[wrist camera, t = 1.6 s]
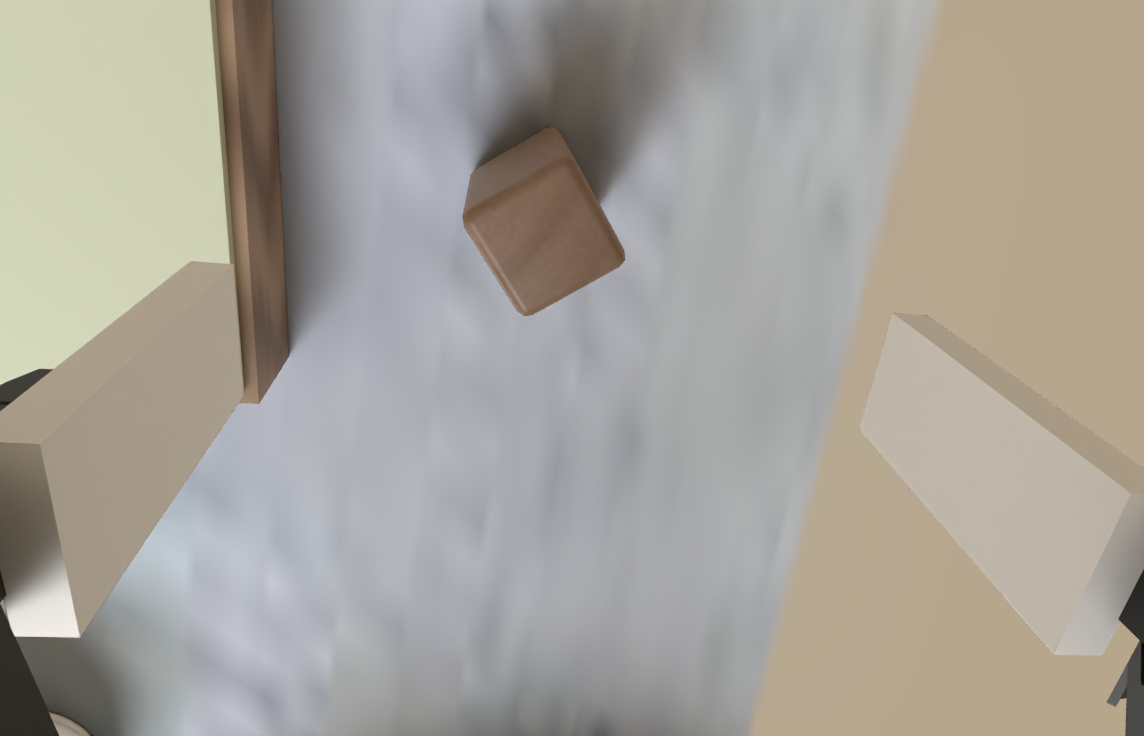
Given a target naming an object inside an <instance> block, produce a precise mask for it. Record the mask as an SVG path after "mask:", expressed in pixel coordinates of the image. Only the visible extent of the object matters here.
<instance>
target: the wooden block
mask: <svg viewBox="0 0 1144 736" xmlns="http://www.w3.org/2000/svg"><path fill="white" fill-rule="evenodd" d="M463 223H464V227H465V229H466V231H467V232H468V234H469V235H470V237H471V239H472V240H473V242H474V243H475V245H476V247H477V248H478V250H479V251H480V253H481V254H482V256H483V258H484V259H485V261H486V262H487V264H488V266H489V267H490V269H491V270H492V272H493V274H494V275H495V277H496V278H497V280H498V282H499V283H500V285H501V286H502V288H503V290H504V291H505V293H506V294H507V296H508V298H509V299H510V301H511V302H512V304H513V305H514V307H515V309H516V310H517V311H518V312H519V313H521V314H522V315H524V316H528V315H533V314H535V313H537V312H539V311H541V310H542V309H544V308H546V307H548V306H550V305H551V304H553V303H555V302H557V301H559V300H560V299H562V298H564V297H566V296H568V295H569V294H571V293H573V292H575V291H577V290H579V289H580V288H582V287H584V286H586V285H588V284H589V283H591V282H593V281H595V280H597V279H598V278H600V277H602V276H604V275H606V274H607V273H609V272H611V271H613V270H615V269H616V268H618V267H619V266H620V265H621V264H622V263H623V262H624V261H625V253H624V249H623V247H622V245H621V243H620V242H619V240H618V238H617V236H616V234H615V232H614V230H613V229H612V227H611V225H610V223H609V221H608V219H607V217H606V216H605V214H604V212H603V210H602V208H601V206H600V204H599V203H598V201H597V199H596V197H595V195H594V193H593V191H592V190H591V188H590V186H589V184H588V182H587V180H586V178H585V177H584V175H583V173H582V171H581V169H580V167H579V165H578V164H577V162H576V160H575V158H574V156H573V154H572V153H571V151H570V149H569V147H568V146H567V144H566V142H565V140H564V138H563V137H562V135H561V133H560V131H558V130H557V129H556V128H555V127H547V128H544V129H543V130H541V131H539V132H537V133H536V134H534V135H532V136H531V137H529V138H527V139H526V140H524V141H522V142H520V143H519V144H517V145H515V146H514V147H512V148H510V149H509V150H507V151H505V152H504V153H502V154H500V155H498V156H497V157H495V158H493V159H492V160H490V161H488V162H487V163H485V164H483V165H481V166H480V167H478V168H476V169H475V170H474V172H473V173H472V174H471V176H470V181H469V187H468V192H467V197H466V202H465V207H464V212H463Z"/></svg>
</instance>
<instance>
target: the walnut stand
mask: <svg viewBox="0 0 1144 736" xmlns="http://www.w3.org/2000/svg"><path fill="white" fill-rule="evenodd" d="M190 261H196V262H210V263H223V264H234V277H235V290H236V302H237V315H238V328H239V341H240V353H241V366H242V379H243V392H244V396H243V398H242V399H241V401H240V402H239V403H254V404H259V403H260V401H261V400H262V398H263V397H264V395H265V393H266V392H267V390H268V389H269V387H270V386H271V384H272V382H273V381H274V379H275V378H276V376H277V375H278V373H279V371H280V370H281V368H282V367H283V365H284V363H285V362H286V360H287V359H288V357H289V350H288V329H287V308H286V287H285V266H284V245H283V224H282V203H281V183H280V162H279V141H278V120H277V99H276V78H275V57H274V36H273V15H272V0H0V386H1V385H2V384H3V383H5V382H7V381H10V380H12V379H15V378H17V377H20V376H22V375H25V374H27V373H30V372H32V371H35V370H37V369H55V368H56V367H57V366H58V365H60V364H61V363H62V362H63V361H65V360H66V359H67V358H68V357H70V356H71V355H72V354H74V353H75V352H76V351H77V350H79V349H80V348H81V347H82V346H84V345H85V344H86V343H87V342H89V341H90V340H91V339H93V338H94V337H95V336H96V335H98V334H99V333H100V332H101V331H103V330H104V329H105V328H106V327H108V326H109V325H110V324H112V323H113V322H114V321H115V320H117V319H118V318H119V317H120V316H122V315H123V314H124V313H125V312H127V311H128V310H129V309H131V308H132V307H133V306H134V305H136V304H137V303H138V302H139V301H141V300H142V299H143V298H144V297H146V296H147V295H148V294H149V293H151V292H152V291H153V290H155V289H156V288H157V287H158V286H160V285H161V284H162V283H163V282H165V281H166V280H167V279H168V278H170V277H171V276H172V275H174V274H175V273H176V272H177V271H179V270H180V269H181V268H182V267H184V266H185V265H186V264H187V263H189V262H190Z"/></svg>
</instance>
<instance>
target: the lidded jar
mask: <svg viewBox="0 0 1144 736" xmlns="http://www.w3.org/2000/svg"><path fill="white" fill-rule="evenodd" d="M49 714H50V716H51V718H52V720H53V723H54V725H55V727H56V729H57V732H58V734H59V736H91V735H90V734H89V733H88V732H87V731H86V730H85V729H84V728H83V727H81V726H80V725H79V724H77V723H76V722H74V721H72V720H70V719H68V718H66V717H64V716H61V715H58V714H56V713H52V712H49Z"/></svg>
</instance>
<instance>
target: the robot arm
mask: <svg viewBox="0 0 1144 736" xmlns="http://www.w3.org/2000/svg"><path fill="white" fill-rule="evenodd" d="M243 396H244V392H243V379H242V366H241V353H240V341H239V328H238V315H237V302H236V290H235V277H234V264H223V263H210V262H196V261H190V262H189V263H187V264H186V265H185V266H184V267H182V268H181V269H180V270H179V271H177V272H176V273H175V274H174V275H172V276H171V277H170V278H168V279H167V280H166V281H165V282H163V283H162V284H161V285H160V286H158V287H157V288H156V289H155V290H153V291H152V292H151V293H149V294H148V295H147V296H146V297H144V298H143V299H142V300H141V301H139V302H138V303H137V304H136V305H134V306H133V307H132V308H131V309H129V310H128V311H127V312H125V313H124V314H123V315H122V316H120V317H119V318H118V319H117V320H115V321H114V322H113V323H112V324H110V325H109V326H108V327H106V328H105V329H104V330H103V331H101V332H100V333H99V334H98V335H96V336H95V337H94V338H93V339H91V340H90V341H89V342H87V343H86V344H85V345H84V346H82V347H81V348H80V349H79V350H77V351H76V352H75V353H74V354H72V355H71V356H70V357H68V358H67V359H66V360H65V361H63V362H62V363H61V364H60V365H58V366H57V367H56V368H55V369H37V370H35V371H32V372H30V373H27V374H25V375H22V376H20V377H17V378H15V379H12V380H10V381H7V382H5V383H3V384H2V385H1V386H0V602H1V601H2V600H3V599H4V603H5V607H6V611H7V615H8V619H9V623H10V625H9V623H8V620H7V618H6V616H5V614H4V612H3V609H2V607H1V605H0V736H59V734H58V732H57V729H56V727H55V725H54V723H53V720H52V718H51V716H50V714H49V712H48V709H47V707H46V705H45V703H44V700H43V698H42V696H41V694H40V692H39V689H38V687H37V685H36V683H35V680H34V678H33V676H32V674H31V672H30V669H29V667H28V665H27V663H26V660H25V658H24V656H23V654H22V652H21V649H20V647H19V645H18V643H17V640H16V638H15V636H21V637H78V638H80V637H81V635H82V634H83V632H84V631H85V629H86V628H87V626H88V625H89V623H90V622H91V620H92V619H93V618H94V616H95V615H96V613H97V612H98V610H99V609H100V607H101V606H102V604H103V603H104V601H105V600H106V598H107V597H108V595H109V594H110V592H111V591H112V589H113V588H114V587H115V585H116V584H117V582H118V581H119V579H120V578H121V576H122V575H123V573H124V572H125V570H126V569H127V567H128V566H129V564H130V563H131V561H132V560H133V558H134V557H135V556H136V554H137V553H138V551H139V550H140V548H141V547H142V545H143V544H144V542H145V541H146V539H147V538H148V536H149V535H150V533H151V532H152V530H153V529H154V527H155V526H156V525H157V523H158V522H159V520H160V519H161V517H162V516H163V514H164V513H165V511H166V510H167V508H168V507H169V505H170V504H171V502H172V501H173V499H174V498H175V496H176V495H177V494H178V492H179V491H180V489H181V488H182V486H183V485H184V483H185V482H186V480H187V479H188V477H189V476H190V474H191V473H192V471H193V470H194V468H195V467H196V465H197V464H198V463H199V461H200V460H201V458H202V457H203V455H204V454H205V452H206V451H207V449H208V448H209V446H210V445H211V443H212V442H213V440H214V439H215V437H216V436H217V434H218V433H219V432H220V430H221V429H222V427H223V426H224V424H225V423H226V421H227V420H228V418H229V417H230V415H231V414H232V412H233V411H234V409H235V408H236V406H237V405H238V403H239V402H240V401H241V399H242V398H243ZM859 430H860V431H861V432H862V433H863V435H864V436H865V437H866V438H867V439H868V440H869V441H870V443H871V444H872V445H873V446H874V447H875V448H876V450H877V451H878V452H879V453H880V454H881V455H882V456H883V458H884V459H885V460H886V461H887V462H888V463H889V464H890V466H891V467H892V468H893V469H894V470H895V472H896V473H897V474H898V475H899V476H900V477H901V478H902V480H903V481H904V482H905V483H906V484H907V485H908V487H909V488H910V489H911V490H912V491H913V492H914V493H915V495H916V496H917V497H918V498H919V499H920V500H921V502H922V503H923V504H924V505H925V506H926V507H927V509H928V510H929V511H930V512H931V513H932V514H933V515H934V517H935V518H936V519H937V520H938V521H939V522H940V524H941V525H942V526H943V527H944V528H945V529H946V531H947V532H948V533H949V534H950V535H951V536H952V537H953V539H954V540H955V541H956V542H957V543H958V544H959V546H960V547H961V548H962V549H963V550H964V551H965V552H966V554H967V555H968V556H969V557H970V558H971V559H972V561H973V562H975V564H976V565H977V566H978V568H979V569H980V570H981V571H982V572H983V573H984V574H985V575H986V577H987V578H988V579H989V580H990V581H991V583H992V584H993V585H994V586H995V587H996V588H997V589H998V591H999V592H1000V593H1001V594H1002V595H1003V596H1004V597H1005V599H1006V600H1007V601H1008V602H1009V603H1010V604H1011V606H1012V607H1013V608H1014V609H1015V610H1016V611H1017V613H1018V614H1019V615H1020V616H1021V617H1022V618H1023V620H1024V621H1025V622H1026V623H1027V624H1028V625H1029V627H1031V629H1032V630H1033V631H1034V632H1035V633H1036V635H1038V637H1039V638H1040V639H1041V640H1042V641H1043V643H1044V644H1045V645H1046V646H1047V647H1048V648H1049V649H1050V651H1051V652H1052V653H1053V654H1054V655H1101V656H1102V655H1103V653H1104V651H1105V649H1106V647H1107V645H1108V643H1109V641H1110V639H1111V637H1112V635H1113V634H1114V632H1115V630H1116V627H1117V626H1118V624H1119V622H1120V621H1121V622H1122V623H1123V624H1124V625H1125V626H1126V627H1127V628H1128V629H1129V630H1130V631H1131V632H1132V633H1133V634H1134V635H1135V636H1136V637H1137V638H1138V639H1139V640H1140V641H1139V643H1138V645H1137V647H1136V648H1135V650H1134V652H1133V654H1132V656H1131V658H1130V660H1129V662H1128V663H1127V665H1126V667H1125V669H1124V671H1123V673H1122V675H1121V676H1120V678H1119V680H1118V682H1117V684H1116V686H1115V688H1114V690H1113V691H1112V693H1111V695H1110V697H1109V699H1108V701H1107V703H1109V704H1111V705H1113V706H1116V705H1117V704H1118V702H1119V700H1120V699H1123V698H1127V704H1126V705H1127V706H1126V735H1125V736H1144V468H1143V467H1142V466H1141V465H1139V464H1138V463H1136V462H1135V461H1133V460H1132V459H1130V458H1129V457H1128V456H1126V455H1125V454H1123V453H1122V452H1121V451H1119V450H1117V449H1116V448H1115V447H1113V446H1112V445H1110V444H1109V443H1108V442H1106V441H1105V440H1104V439H1102V438H1101V437H1099V436H1098V435H1096V434H1095V433H1094V432H1092V431H1091V430H1089V429H1088V428H1086V427H1085V426H1084V425H1082V424H1081V423H1079V422H1078V421H1077V420H1075V419H1074V418H1072V417H1071V416H1069V415H1068V414H1066V413H1065V412H1064V411H1062V410H1061V409H1060V408H1058V407H1057V406H1055V405H1054V404H1052V403H1051V402H1050V401H1048V400H1047V399H1045V398H1044V397H1042V396H1041V395H1040V394H1038V393H1037V392H1035V391H1034V390H1033V389H1031V388H1030V387H1028V386H1027V385H1025V384H1024V383H1023V382H1021V381H1020V380H1018V379H1017V378H1015V377H1014V376H1013V375H1011V374H1010V373H1008V372H1007V371H1005V370H1004V369H1002V368H1001V367H1000V366H998V365H997V364H995V363H994V362H993V361H991V360H990V359H988V358H987V357H986V356H984V355H982V354H981V353H980V352H978V351H977V350H976V349H974V348H973V347H971V346H970V345H968V344H967V343H966V342H964V341H963V340H961V339H960V338H959V337H957V336H956V335H954V334H953V333H952V332H950V331H948V330H947V329H946V328H944V327H943V326H941V325H940V324H939V323H937V322H936V321H934V320H933V319H932V318H930V317H929V316H926V315H913V314H898V313H893V315H892V318H891V322H890V325H889V329H888V332H887V335H886V339H885V342H884V345H883V349H882V352H881V356H880V359H879V362H878V366H877V369H876V373H875V376H874V379H873V383H872V386H871V389H870V393H869V397H868V400H867V403H866V406H865V410H864V413H863V417H862V420H861V424H860V427H859ZM10 626H11V627H10Z"/></svg>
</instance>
